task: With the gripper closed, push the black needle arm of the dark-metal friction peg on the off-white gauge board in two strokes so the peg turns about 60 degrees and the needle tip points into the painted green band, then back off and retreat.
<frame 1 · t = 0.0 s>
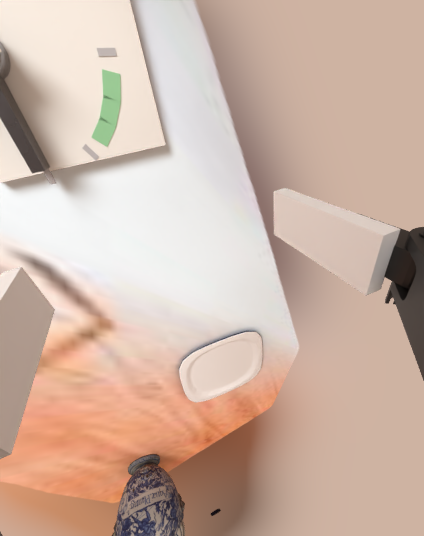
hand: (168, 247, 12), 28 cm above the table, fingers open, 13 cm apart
plate: (222, 364, 69), on the table
gauge board: (54, 85, 28), on the table
peg: (2, 104, 24), point 4 cm above the table, hinge at 0.0°
decorative vase: (143, 462, 81), on the table
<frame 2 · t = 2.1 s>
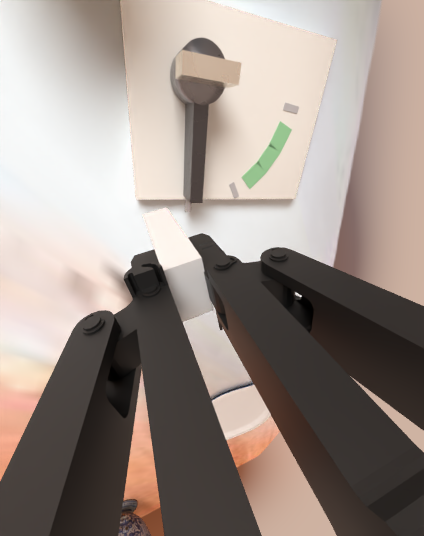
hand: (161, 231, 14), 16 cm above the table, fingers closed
plate: (237, 408, 65), on the table
gauge board: (229, 121, 27), on the table
peg: (198, 132, 22), point 4 cm above the table, hinge at 0.0°
decorative vase: (118, 508, 70), on the table
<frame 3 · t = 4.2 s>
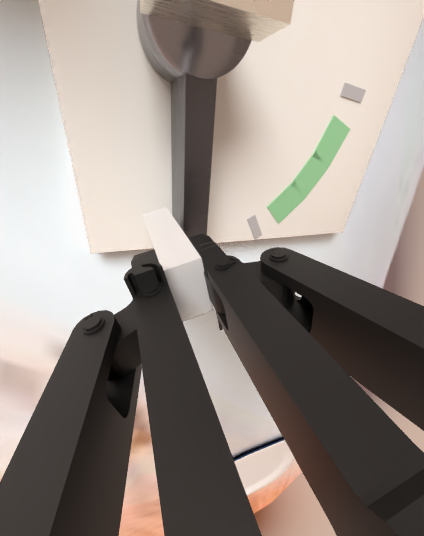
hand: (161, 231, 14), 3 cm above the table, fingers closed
plate: (248, 467, 54), on the table
gauge board: (248, 116, 16), on the table
peg: (196, 137, 11), point 4 cm above the table, hinge at 0.0°, touching gripper
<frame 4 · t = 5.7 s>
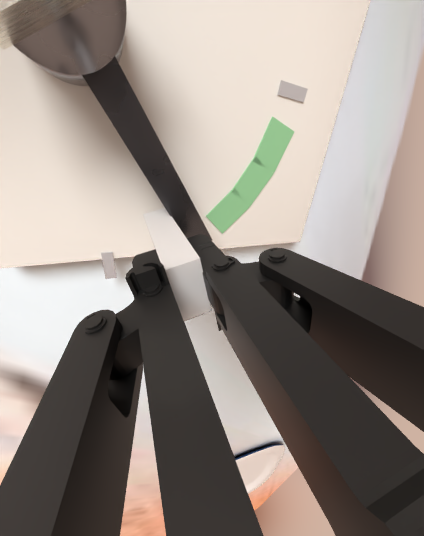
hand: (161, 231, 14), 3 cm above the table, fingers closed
plate: (227, 475, 53), on the table
gauge board: (176, 117, 14), on the table
peg: (135, 130, 10), point 4 cm above the table, hinge at 30.4°, touching gripper
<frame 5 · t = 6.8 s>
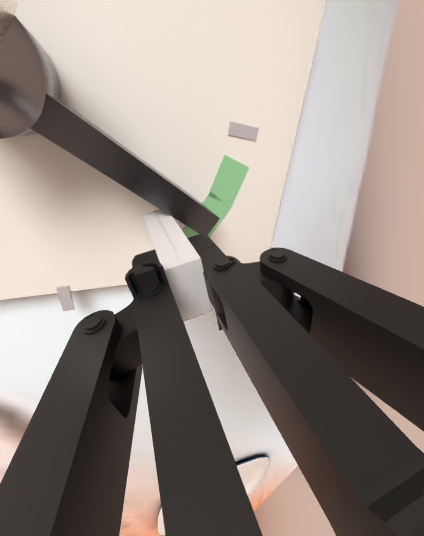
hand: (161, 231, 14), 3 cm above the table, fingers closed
plate: (213, 487, 53), on the table
gauge board: (128, 156, 14), on the table
peg: (100, 151, 10), point 4 cm above the table, hinge at 56.1°, touching gripper
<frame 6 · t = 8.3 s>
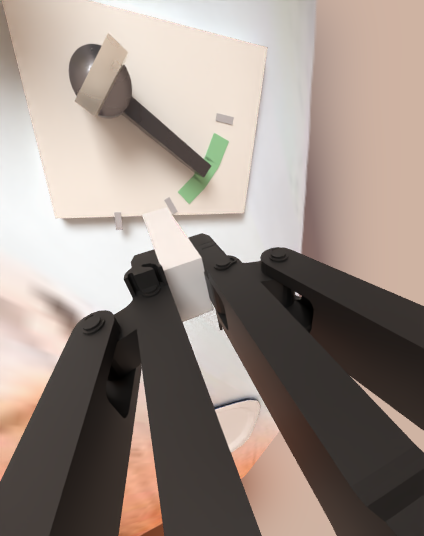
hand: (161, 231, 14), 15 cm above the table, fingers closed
plate: (212, 430, 62), on the table
gauge board: (158, 133, 25), on the table
peg: (151, 124, 21), point 4 cm above the table, hinge at 56.4°
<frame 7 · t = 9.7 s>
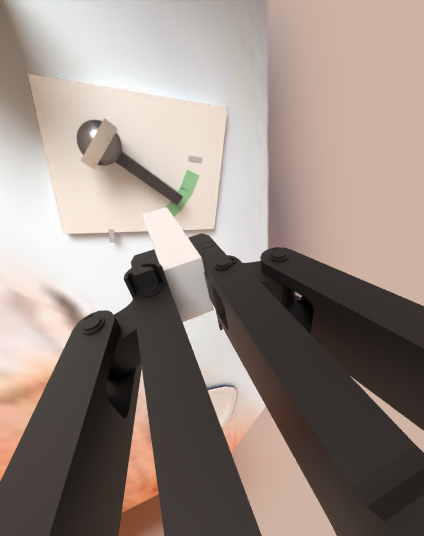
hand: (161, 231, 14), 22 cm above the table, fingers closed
plate: (194, 413, 70), on the table
gauge board: (143, 169, 32), on the table
peg: (136, 169, 28), point 4 cm above the table, hinge at 56.4°
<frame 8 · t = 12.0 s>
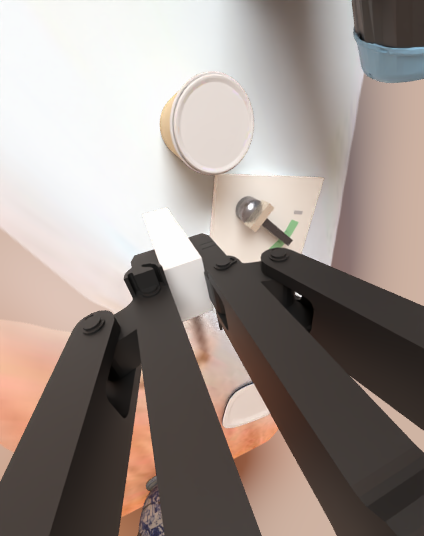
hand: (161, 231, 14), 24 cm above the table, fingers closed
coffee cup: (185, 127, 34), on the table
plate: (254, 398, 84), on the table
gauge board: (262, 220, 46), on the table
peg: (269, 225, 42), point 4 cm above the table, hinge at 56.4°
decorative vase: (159, 479, 89), on the table
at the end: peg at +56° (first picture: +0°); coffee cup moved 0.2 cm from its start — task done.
